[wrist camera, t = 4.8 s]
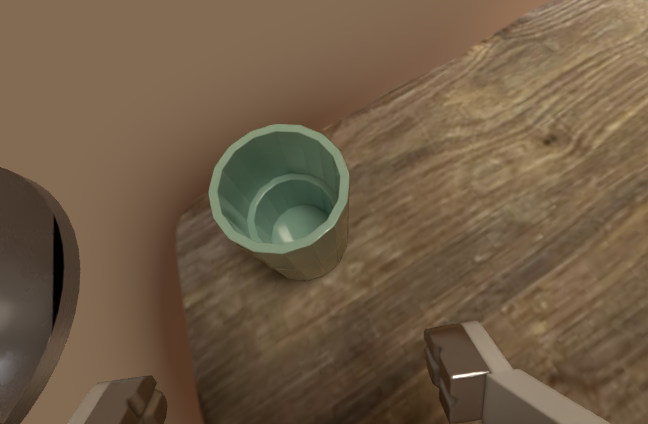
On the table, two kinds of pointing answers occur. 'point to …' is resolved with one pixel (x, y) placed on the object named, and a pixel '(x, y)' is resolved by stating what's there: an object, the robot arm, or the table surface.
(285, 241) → the sage green tumbler
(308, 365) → the table surface
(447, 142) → the table surface
